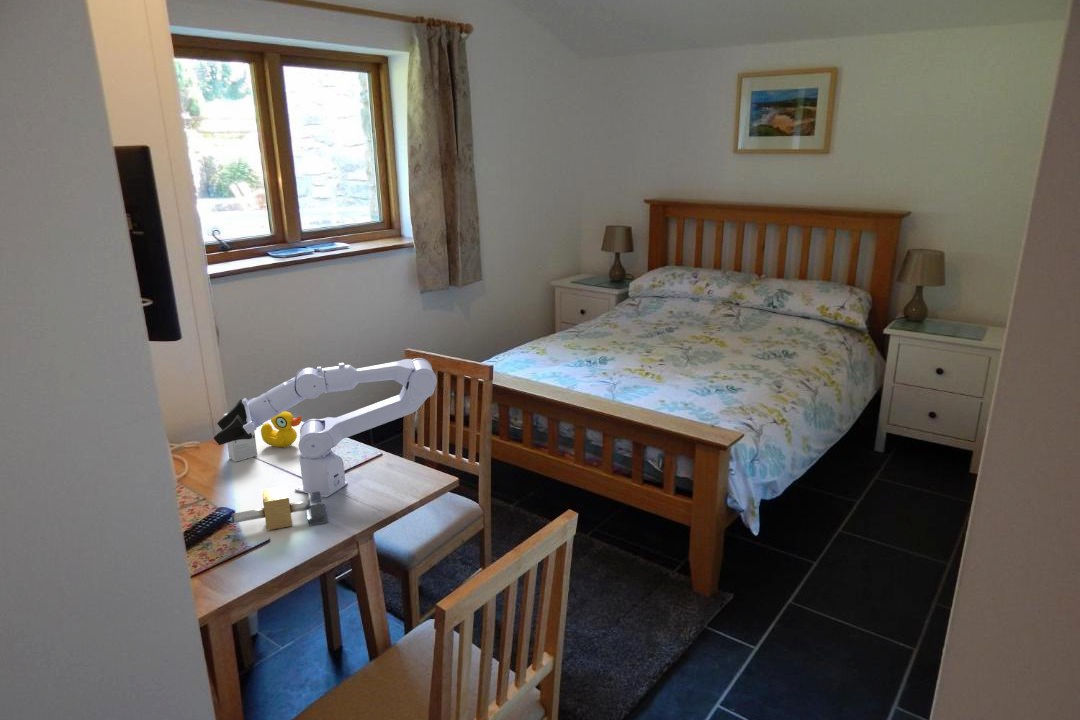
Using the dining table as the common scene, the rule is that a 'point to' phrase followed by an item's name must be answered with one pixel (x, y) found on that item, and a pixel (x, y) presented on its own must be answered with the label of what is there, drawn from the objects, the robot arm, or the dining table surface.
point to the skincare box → (242, 448)
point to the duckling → (281, 430)
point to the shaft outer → (248, 515)
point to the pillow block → (316, 510)
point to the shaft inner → (300, 506)
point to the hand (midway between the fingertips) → (218, 433)
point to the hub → (277, 507)
